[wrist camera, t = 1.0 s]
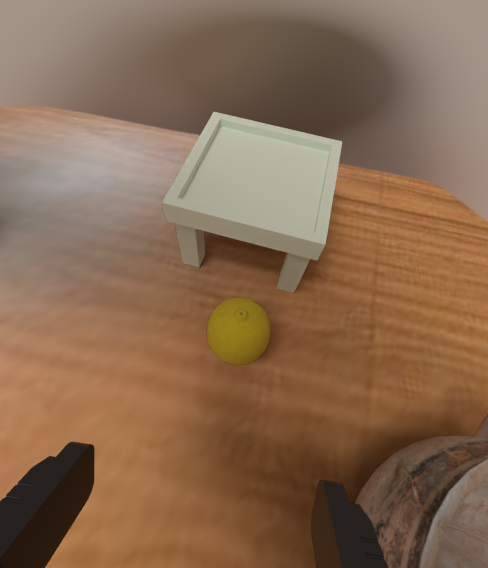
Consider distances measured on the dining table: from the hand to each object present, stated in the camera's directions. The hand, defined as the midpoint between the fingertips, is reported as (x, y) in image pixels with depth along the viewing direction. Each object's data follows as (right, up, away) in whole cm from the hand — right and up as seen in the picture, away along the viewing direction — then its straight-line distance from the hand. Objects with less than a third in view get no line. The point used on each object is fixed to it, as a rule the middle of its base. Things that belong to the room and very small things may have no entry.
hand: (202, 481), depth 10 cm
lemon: (+1, +1, +19) cm, 19 cm away
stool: (+2, +13, +26) cm, 29 cm away
